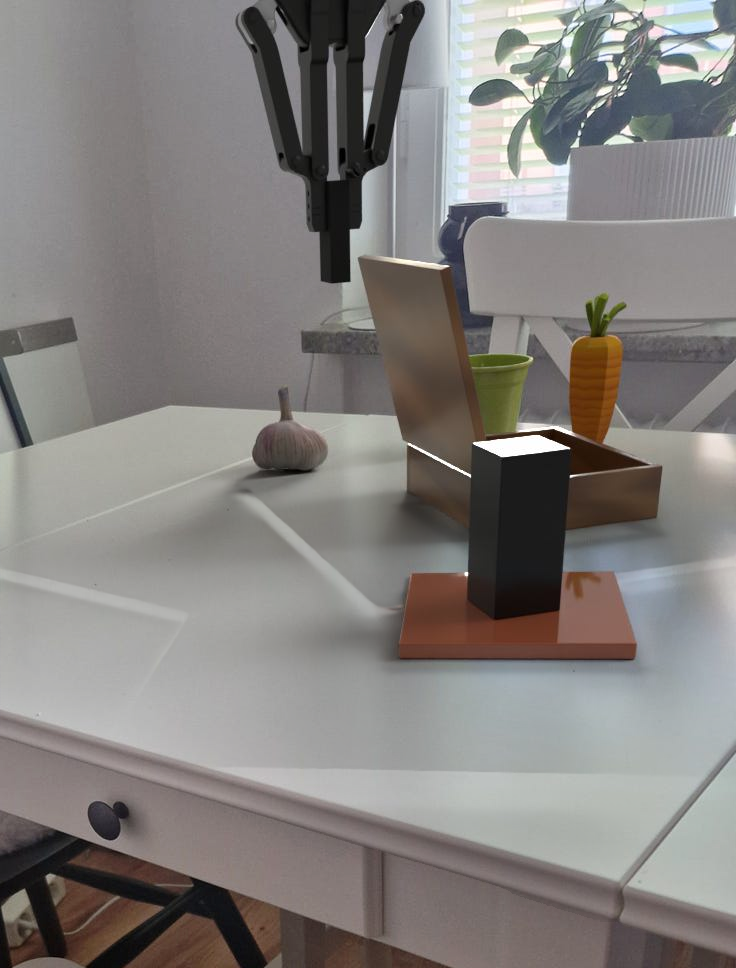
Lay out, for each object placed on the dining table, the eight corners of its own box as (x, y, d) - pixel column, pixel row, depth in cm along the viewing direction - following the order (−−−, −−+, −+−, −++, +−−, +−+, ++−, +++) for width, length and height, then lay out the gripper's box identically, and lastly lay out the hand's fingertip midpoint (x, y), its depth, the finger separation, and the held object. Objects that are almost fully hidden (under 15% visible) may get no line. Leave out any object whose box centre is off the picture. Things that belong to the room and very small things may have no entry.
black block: (529, 590, 78) (538, 435, 73) (560, 610, 74) (572, 448, 69) (466, 599, 77) (471, 442, 72) (494, 620, 73) (501, 457, 68)
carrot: (572, 456, 115) (585, 288, 107) (621, 460, 112) (638, 288, 105) (552, 467, 111) (564, 294, 104) (602, 471, 109) (618, 294, 101)
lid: (366, 253, 94) (357, 257, 94) (450, 265, 79) (440, 270, 79) (410, 436, 102) (402, 440, 102) (495, 479, 87) (485, 483, 87)
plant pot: (417, 455, 119) (418, 365, 115) (466, 438, 125) (469, 351, 121) (497, 464, 114) (502, 369, 109) (545, 445, 120) (550, 354, 115)
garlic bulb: (239, 470, 119) (234, 387, 115) (296, 457, 122) (292, 376, 118) (284, 481, 113) (280, 394, 109) (342, 467, 117) (340, 383, 113)
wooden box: (553, 479, 107) (556, 426, 105) (656, 526, 92) (663, 465, 90) (406, 497, 105) (406, 443, 102) (487, 549, 90) (490, 487, 87)
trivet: (613, 585, 81) (614, 570, 80) (635, 659, 69) (637, 643, 68) (410, 586, 83) (410, 572, 83) (398, 658, 71) (398, 643, 71)
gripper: (403, -117, 79) (400, 271, 90) (215, -113, 76) (238, 285, 88) (445, -144, 72) (436, 277, 84) (242, -141, 70) (263, 292, 82)
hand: (335, 281), depth 86 cm, fingers closed
